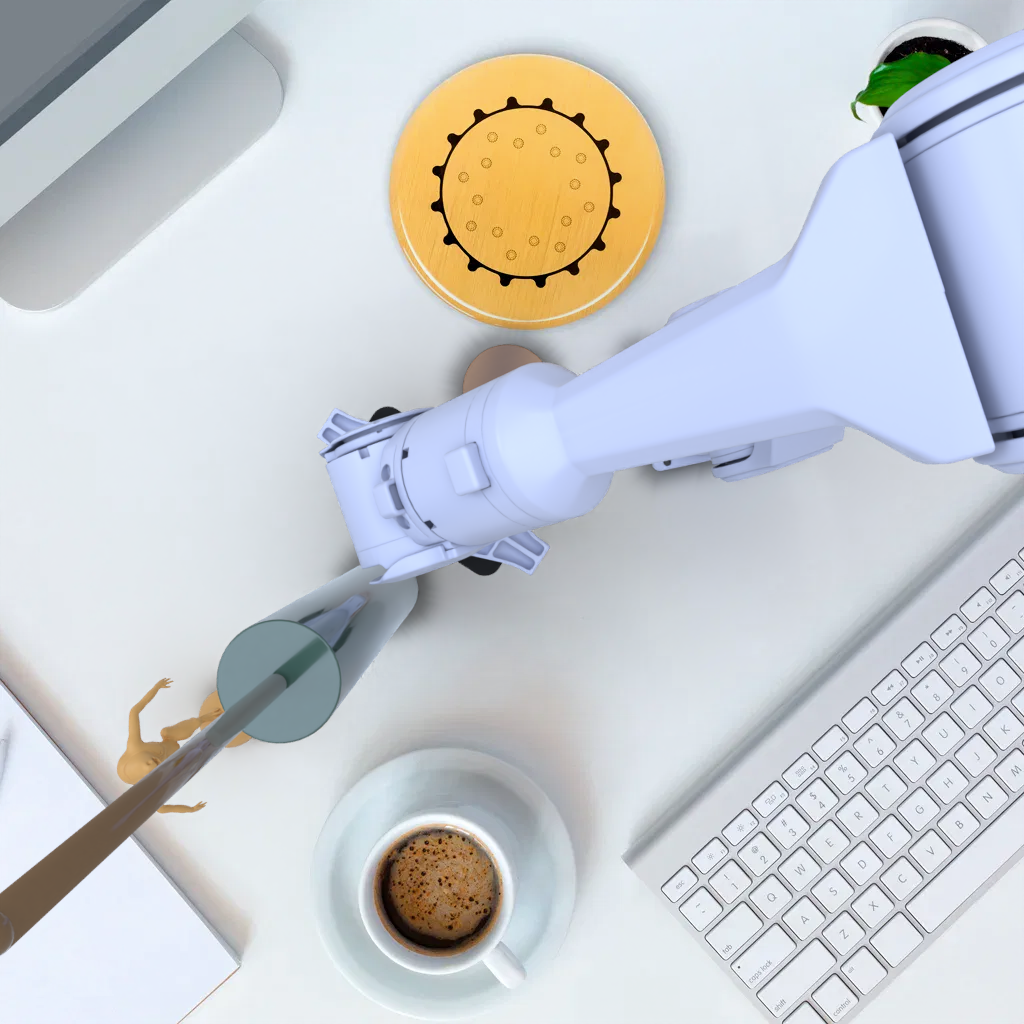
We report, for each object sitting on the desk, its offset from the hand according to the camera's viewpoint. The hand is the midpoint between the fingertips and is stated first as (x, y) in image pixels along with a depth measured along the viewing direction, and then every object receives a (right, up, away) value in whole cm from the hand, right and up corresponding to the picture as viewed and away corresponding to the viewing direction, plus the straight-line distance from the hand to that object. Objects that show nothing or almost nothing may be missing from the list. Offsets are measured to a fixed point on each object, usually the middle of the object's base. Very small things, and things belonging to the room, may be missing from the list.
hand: (444, 490), depth 63 cm
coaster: (+4, +7, +1) cm, 8 cm away
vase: (-4, -7, +2) cm, 8 cm away
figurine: (-15, -15, +2) cm, 22 cm away
